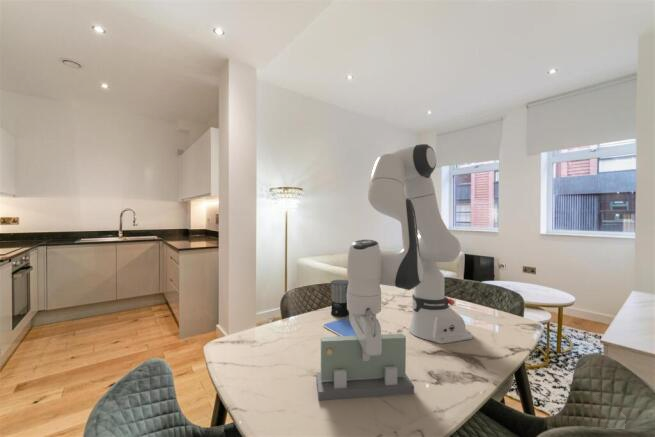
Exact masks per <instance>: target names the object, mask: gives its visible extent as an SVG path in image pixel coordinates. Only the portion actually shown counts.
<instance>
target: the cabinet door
mask: <svg viewBox="0 0 655 437" xmlns="http://www.w3.org/2000/svg"><path fill="white" fill-rule="evenodd" d="M381 339H382V352H381V355H380V356H371V357H370V360H369V361H363V360H362V357H361V351H362V346H361V344H360V342H359V340H358V338H357V336H339V335H337V336H321V337H320V373H321V381H328V380H334V370H342V369H346V371H347V379H362V378H379V377H384V376H385V367H397V376H405V373H406V367H407V366H406V365H407V364H406V362H407V360H406V357H407V356H406V353H407V351H406V350H407V347H406V346H407V343H406V342H407V340H406V339H407V338H406V336H405V335H404V333H390V334H387V333H385V334H381Z"/></svg>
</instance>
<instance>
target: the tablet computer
mask: <svg viewBox="0 0 655 437" xmlns="http://www.w3.org/2000/svg"><path fill="white" fill-rule="evenodd" d="M322 327H323V328H325V329H327V330H328V331H331V332H333V333H334V334H335V335H337V336H356V334H355V332H354V330H353V328H352V326H351V323H350V319H348V318H346V317H342V318H341V319H337V320H334V321H329V322H327V323H324V324H322Z"/></svg>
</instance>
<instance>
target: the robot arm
mask: <svg viewBox="0 0 655 437" xmlns="http://www.w3.org/2000/svg"><path fill="white" fill-rule="evenodd" d="M436 166H437V156H436V153H435V150H434V149H433V147H432V146H430V145H429V144H426V143H425V144H424V143H423V144H420V143H419V144H416V145H413V146H409V147H405V148H401V149H399V150H396V151H393V152H391V153H385V154H381V155H380V156H379V157H377V158H376V161H375V163H374V166H373V168H372V172H371V176H370V180H369V183H368V184H369V185H368V191H367V192H368V194H367V198H368V202H369V203H370V205H371V206H372V208H373V209H374V210H376V211H377V212H378V213H380V214H382V215H384V216H388V217H389V218H392V219H395V220H397V221H398V222H399V223H400V224H401V235H402V236H401V237H402V250H400V251H397V250H396V251H394V250H393V251H392V250H382V249H380V244H379V242H378V241H377V240H374V239H358V240H355V241H354V242H352V243H351V244H350V245H349V249H348V255H347V266H346V274H347V280H348V281H349V284H348V288H347V294H346V300H347V310H348V311H349V316H348V318H349V319H348V320H350V323H351V326H352V328H353V330H354V332H355V334H356V336H357V338H358V340H359V342H360V344H361V346H362V351H361V357H362V360H363V361H369V360H370V357H371V356H380V355H381V352H382V339H381V335H382V328H381V323H380V321H379V319H377V314H379V313H380V312H382V289H381V286H388V287H396V288H397V289H402V290H407V291H410V290H412V289H413V293H412V301H411V302H412V304H411V305H412V317H411V320H410V321H411V322H410V325H409V328H408V330H409V332H410V334H412V335H413V336H415V337H417V338H419V339H422V340H427V341H431V342H434V343H436V344H449V343H454V342H460V341H467V340H472V339H473V338H474V337H473V333H472V332H471V331H470V330H469V329H468V328H466V323H465V320H464V319H463V317H462V316H461V315H460V314H459V313H457V312H456V311H455V310H453V308H451V307H450V306H454V305H455V302H456V301H454V299H451V298H448V297H447V296H445V280H446V279H445V275H444V274H443V273H442V271H441V270H440V269H439V266H438V264H437V263H451V262H454V261H455V260H457V258H458V257H459V256H460V254H461V248H462V246H461V243H460V241H459V239H458V237H457V236H455V235H454V234H452V233H451V231H450V230H449V228H448V227H447V225H446V224H445V222H444V220H443V219H442V216H441V213H440V210H439V205H438V201H437V195H436V190H435V186H434V182H433V179H432V176H431V175H432V174H433V173H434V171H435V169H436ZM380 285H381V286H380Z"/></svg>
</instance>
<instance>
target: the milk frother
mask: <svg viewBox="0 0 655 437" xmlns="http://www.w3.org/2000/svg"><path fill="white" fill-rule="evenodd" d="M330 284H331V312H330V314H331V316H333V317H336V318H337V317H339V318H346V317H349V311H348V310H347V300H346V294H347V288H348V284H349V280H348V279H334V280H331V281H330Z"/></svg>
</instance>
